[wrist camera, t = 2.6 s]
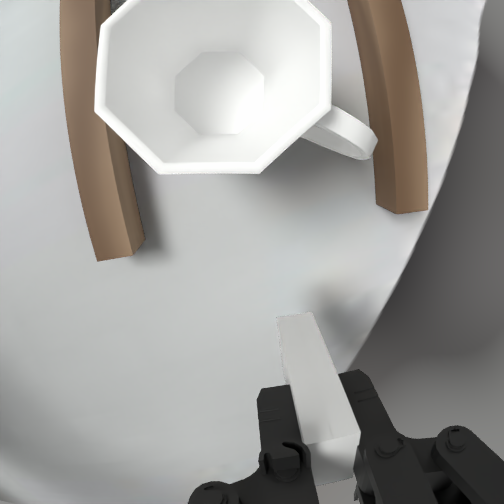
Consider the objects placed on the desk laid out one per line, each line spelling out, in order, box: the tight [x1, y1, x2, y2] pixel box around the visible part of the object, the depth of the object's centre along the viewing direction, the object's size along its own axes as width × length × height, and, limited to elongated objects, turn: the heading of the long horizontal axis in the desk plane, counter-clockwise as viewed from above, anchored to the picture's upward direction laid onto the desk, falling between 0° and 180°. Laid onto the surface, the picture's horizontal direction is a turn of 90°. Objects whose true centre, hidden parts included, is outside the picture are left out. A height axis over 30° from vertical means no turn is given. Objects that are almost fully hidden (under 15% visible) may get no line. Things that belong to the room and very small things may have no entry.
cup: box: [94, 0, 378, 174], centre depth 11 cm, size 7×10×8 cm
